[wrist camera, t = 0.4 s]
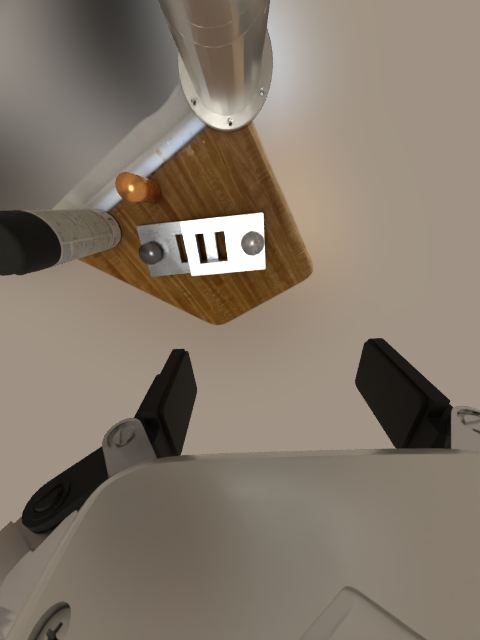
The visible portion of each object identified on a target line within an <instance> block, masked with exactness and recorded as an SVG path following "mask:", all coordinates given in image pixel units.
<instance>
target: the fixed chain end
mask: <svg viewBox="0 0 480 640" xmlns="http://www.w3.org/2000/svg"><path fill="white" fill-rule="evenodd" d="M212 218H214V217H212ZM203 219H207V218H203ZM194 220H198V219H194ZM185 221H189V220H185ZM180 222H182V221H176V222H167V223H158V224H149V225H140V226H136V228H137V232H138V235H139V238H140V241H141V245H142V246H141V247H140V248H139V256H140V258H141V259H142V261H143V262H145V263H146V264H148V267H149V270H150V274H151V277H152V276H162V275H173V274H183V273H191V271H190V266H189V262H188V260H186V261H184V257H183V253H182V248H181V244H180V239H179V235H178V234H182V229H181V224H180ZM203 236H204V241H205V247H206V253H207V258H206V259H202V261H211V260H220V258H219V251H218V244H217V237H216V232H207V233H203Z"/></svg>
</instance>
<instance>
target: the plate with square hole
mask: <svg viewBox="0 0 480 640" xmlns="http://www.w3.org/2000/svg"><path fill="white" fill-rule="evenodd" d="M180 224H181V229H182V234H183V238H184V243H185V248H186V252H187V257H188V262H189V266H190V271H191V276H197V275H207V274H218V273H229V272H239V271H250V270H260V269H266V268H265V243H264V218H263V212H262V213H252V214H243V215H234V216H225V217H216V218H207V219H198V220H189V221H182V222H180ZM216 231H224V232H225V240H226V248H227V256H228V259H221V260H211V261H202V257H201V252H200V247H199V241H198V236H197V234H198V233H207V232H216Z"/></svg>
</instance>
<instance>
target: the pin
mask: <svg viewBox="0 0 480 640" xmlns="http://www.w3.org/2000/svg"><path fill="white" fill-rule="evenodd" d="M115 184H116V189H117V191H118V193H119V195H120V196H121V197H122V198H123V199H125V200H127V201H130V202H149V203H155V202H157V201H159V199H160V197H161V189H160V187H159V185H158V184H157V183H156V182H155V181H154V180H151V179H148V178H145V177H141V176H138V175H135V174H131V173H128V172H122V173H120V174H119V175H118V176H117V178H116V183H115Z"/></svg>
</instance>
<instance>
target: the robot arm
mask: <svg viewBox="0 0 480 640" xmlns="http://www.w3.org/2000/svg"><path fill="white" fill-rule="evenodd" d="M158 3H159V5H160V8H161V10H162V13H163V15H164V17H165V20H166V22H167V24H168V27H169V29H170V31H171V34H172V36H173V39H174V41H175V44H176V46H177V48H178V71H179V78H180V82H181V86H182V89H183V92H184V95H185V97H186V100H187V102H188V103H189V105H190V107H191V109H192V110H193V112H194V113H195V115H196V116H197V117H198V118H199V119H200V120H201V121H202V122H203V123H204V124H206V125H207V126H209V127H210V128H213V129H215V130H217V131H222V132H232V131H236V130H239V129H241V128H243V127H245V126H246V125H248V124H249V123H250V122H251V121H252V120H253V119H254V118H255V117H256V116H257V114H258V113H259V111H260V110H261V108H262V106H263V104H264V102H265V100H266V97H267V94H268V91H269V88H270V83H271V77H272V68H273V57H272V47H271V41H270V37H269V34H268V30H267V19H268V12H269V4H270V0H158ZM261 92H263V96H261V95H260V93H261ZM194 102H197V104H196V105H194ZM229 123H232V126H229ZM355 384H356V387H357V388H358V390H359V392H360V393H361V395H362V396H363V398H364V399H365V401H366V402H367V404H368V406H369V407H370V409H371V410H372V412H373V414H374V415H375V416H376V418H377V420H378V421H379V423H380V424H381V426H382V427H383V429H384V431H385V432H386V434H387V435H388V437H389V438H390V440H391V442H392V443H393V445H394V446H395V448H397V449H357V450H319V451H318V450H317V451H282V452H249V453H219V454H200V455H182V456H180V455H181V452H182V448H183V444H184V441H185V437H186V433H187V429H188V425H189V421H190V417H191V413H192V410H193V406H194V401H195V398H196V394H197V387H196V382H195V378H194V374H193V369H192V365H191V361H190V357H189V353H188V351H185V350H184V349H173V350H172V352H171V354H170V356H169V358H168V360H167V362H166V364H165V366H164V368H163V370H162V371H161V373H160V374H158V375H157V376H156V377H155V379H154V381H153V383H152V385H151V386H150V388H149V390H148V392H147V394H146V396H145V398H144V400H143V402H142V403H141V405H140V407H139V409H138V411H137V413H136V415H135V417H134V418H128V419H124V420H122V421H120V422H118V423H116V424H115V425H114V426H112V427H111V428H110V429H109V430H108V432H107V433H106V434H105V436H104V438H103V441H102V447H100V448H99V449H97V450H96V451H94V452H93V453H91V454H90V455H88V456H87V457H85V458H84V459H82V460H81V461H79V462H78V463H76V464H74V465H73V466H71V467H70V468H68V469H67V470H65V471H64V472H62V473H61V474H59V475H58V476H56V477H55V478H53V479H52V480H51V481H49V482H47V484H45V485H43V486H42V487H41V488H40V489H39V490H38V491H37V492H36V493H35V494H34V495H33V496H32V497H31V499H30V500H29V501H28V503H27V505H26V506H25V509H24V510H23V514H22V517H20V518H19V519H18V520H17V521H16V522H15V523H13V522H12V521H11V522H10V523H8V524H7V525H6V526H5V527H4V528H3V529H2V530H1V531H0V640H480V410H478V409H475V408H472V407H468V406H456V407H454V408H453V407H452V406H451V405H450V404H449V403H450V400H449V399H448V398H447V397H446V396H444V395H443V394H442V393H441V392H440V391H439V390H438V389H437V388H436V387H435V386H434V385H433V384H431V383H430V382H429V381H428V380H427V379H426V378H425V377H424V376H423V375H422V374H421V373H420V372H418V371H417V370H416V369H415V368H414V367H413V366H412V365H411V364H410V363H409V362H408V361H407V360H406V359H404V358H403V357H402V356H401V355H400V354H399V353H398V352H397V351H396V350H394V349H393V348H392V347H391V346H390V345H389V344H388V343H387V342H386V341H385V340H384V339H382V338H376V339H368V341H367V342H365V343H364V346H363V350H362V355H361V359H360V363H359V367H358V371H357V375H356V379H355Z"/></svg>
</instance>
